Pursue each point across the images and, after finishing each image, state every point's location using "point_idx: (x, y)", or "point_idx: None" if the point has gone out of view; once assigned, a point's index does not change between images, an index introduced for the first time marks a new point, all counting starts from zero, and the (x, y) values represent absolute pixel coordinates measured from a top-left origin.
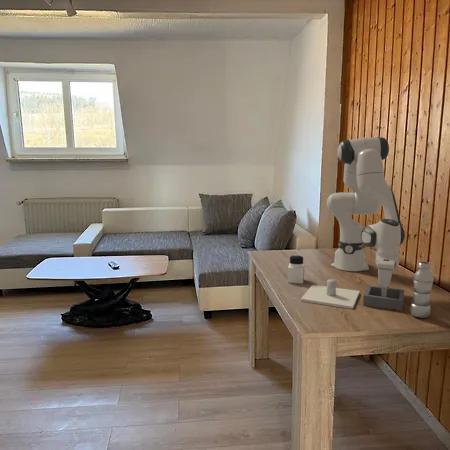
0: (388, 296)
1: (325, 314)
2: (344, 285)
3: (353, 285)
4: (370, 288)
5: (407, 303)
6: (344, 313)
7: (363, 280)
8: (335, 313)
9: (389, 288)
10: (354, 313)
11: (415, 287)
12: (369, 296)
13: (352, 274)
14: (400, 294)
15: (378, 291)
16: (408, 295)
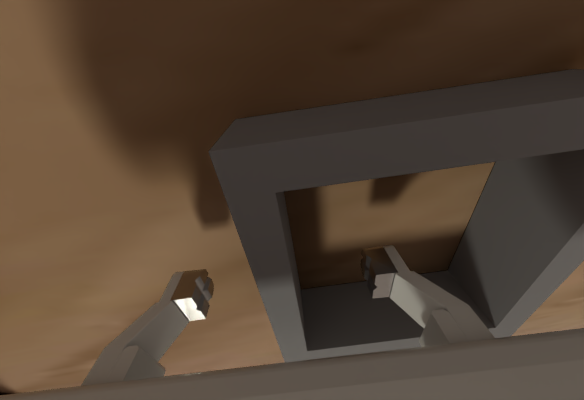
0: (289, 227)
1: (575, 325)
2: (223, 366)
3: (194, 354)
4: (348, 345)
5: (333, 58)
6: (572, 297)
7: (76, 353)
8: (568, 313)
9: (271, 279)
10: (577, 277)
11: None
12: (527, 316)
13: (45, 386)
14: (452, 156)
15: (299, 296)
16: (65, 95)
